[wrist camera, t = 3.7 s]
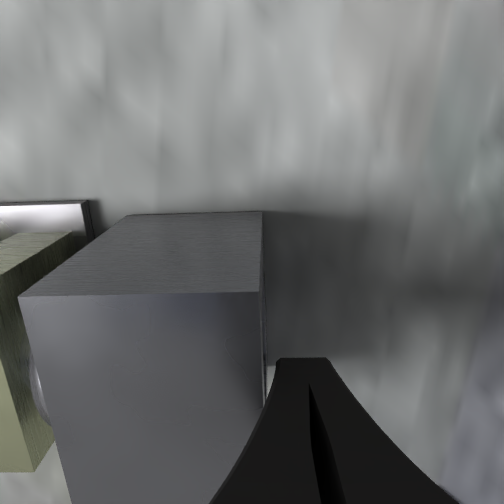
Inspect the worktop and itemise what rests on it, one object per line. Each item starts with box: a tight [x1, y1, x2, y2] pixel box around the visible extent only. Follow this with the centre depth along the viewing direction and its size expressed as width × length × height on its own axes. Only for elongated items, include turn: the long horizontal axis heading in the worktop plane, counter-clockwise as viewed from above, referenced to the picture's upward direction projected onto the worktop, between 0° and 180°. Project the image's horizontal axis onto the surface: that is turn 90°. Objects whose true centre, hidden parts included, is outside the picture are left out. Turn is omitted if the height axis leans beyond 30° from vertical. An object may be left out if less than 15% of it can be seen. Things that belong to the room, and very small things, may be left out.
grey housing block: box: [18, 211, 267, 504], centre depth 12 cm, size 5×7×7 cm
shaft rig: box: [0, 200, 95, 472], centre depth 13 cm, size 13×8×6 cm, turn 92°
